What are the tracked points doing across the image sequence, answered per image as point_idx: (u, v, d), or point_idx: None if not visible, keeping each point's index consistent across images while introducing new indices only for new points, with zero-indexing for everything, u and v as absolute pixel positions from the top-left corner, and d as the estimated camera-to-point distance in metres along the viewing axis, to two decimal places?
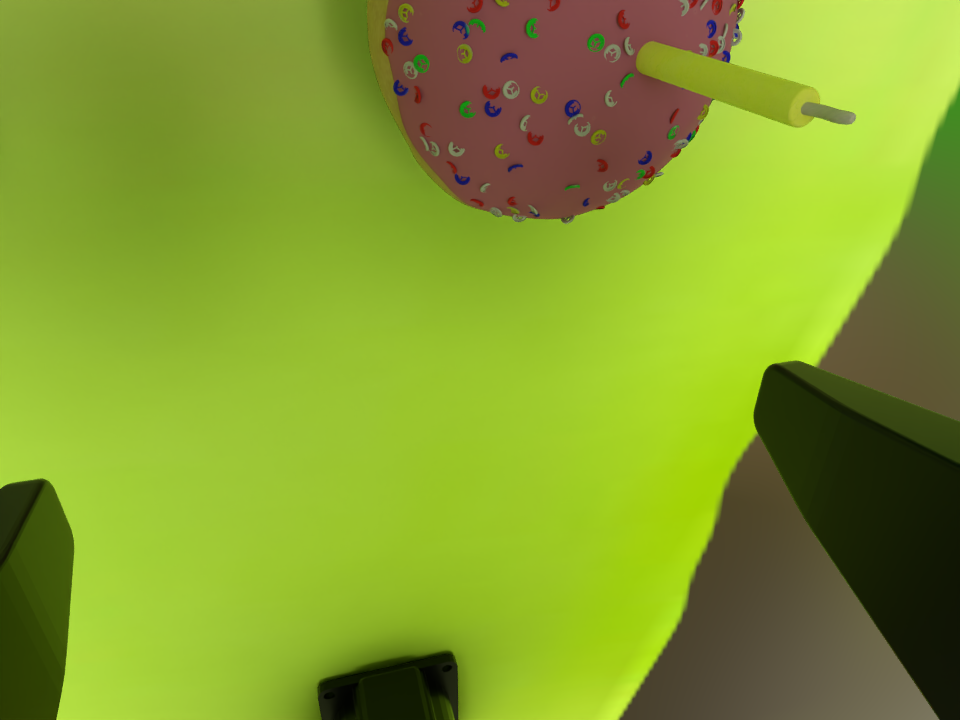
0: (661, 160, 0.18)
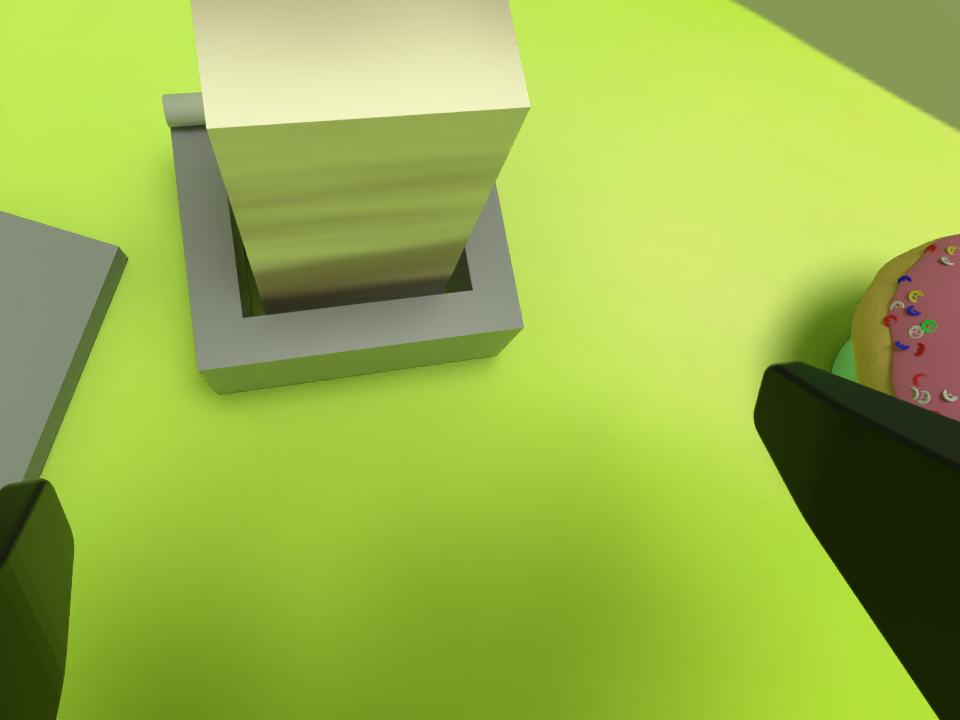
0: None
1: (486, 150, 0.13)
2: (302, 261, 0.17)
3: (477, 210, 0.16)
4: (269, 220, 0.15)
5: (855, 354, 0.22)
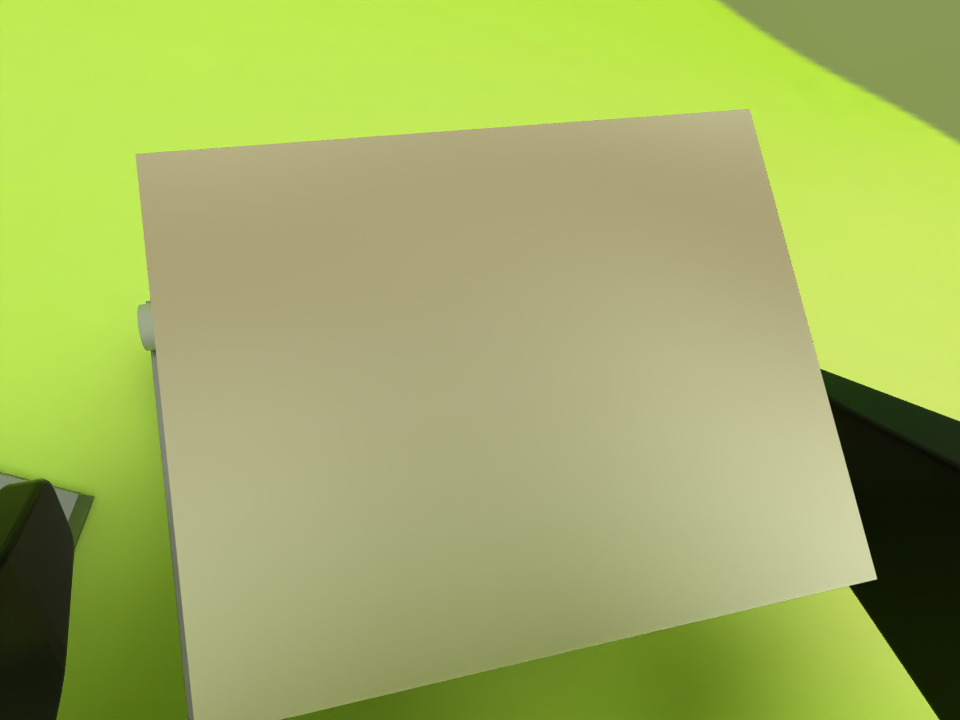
0: None
1: None
2: None
3: None
4: None
5: None
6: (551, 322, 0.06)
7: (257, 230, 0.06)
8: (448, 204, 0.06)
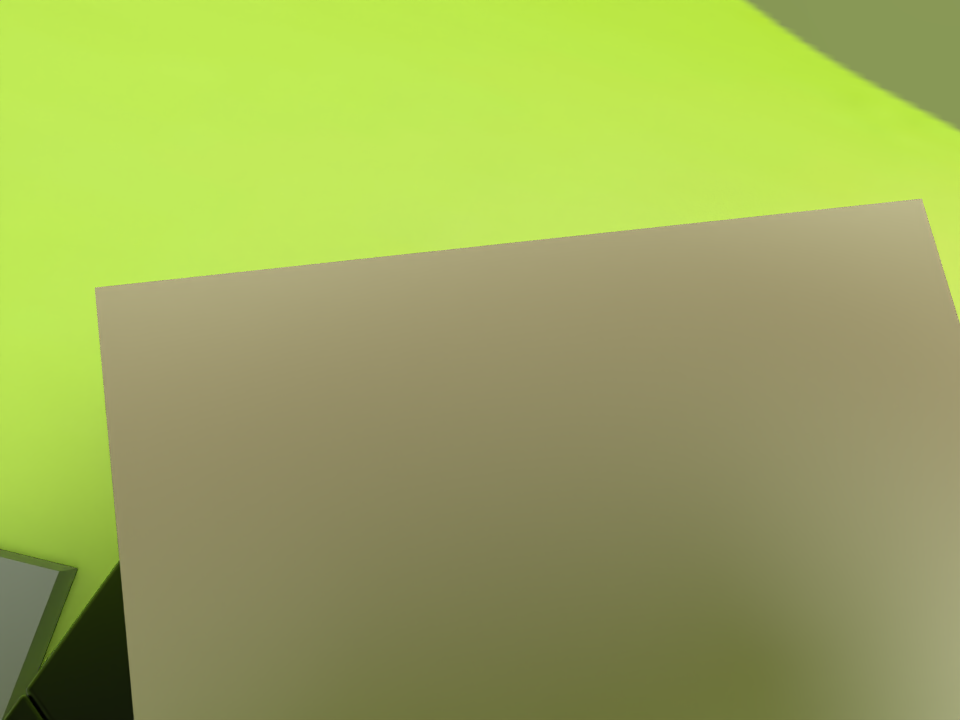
0: None
1: None
2: None
3: None
4: None
5: None
6: (678, 512, 0.04)
7: (268, 395, 0.04)
8: (533, 345, 0.04)
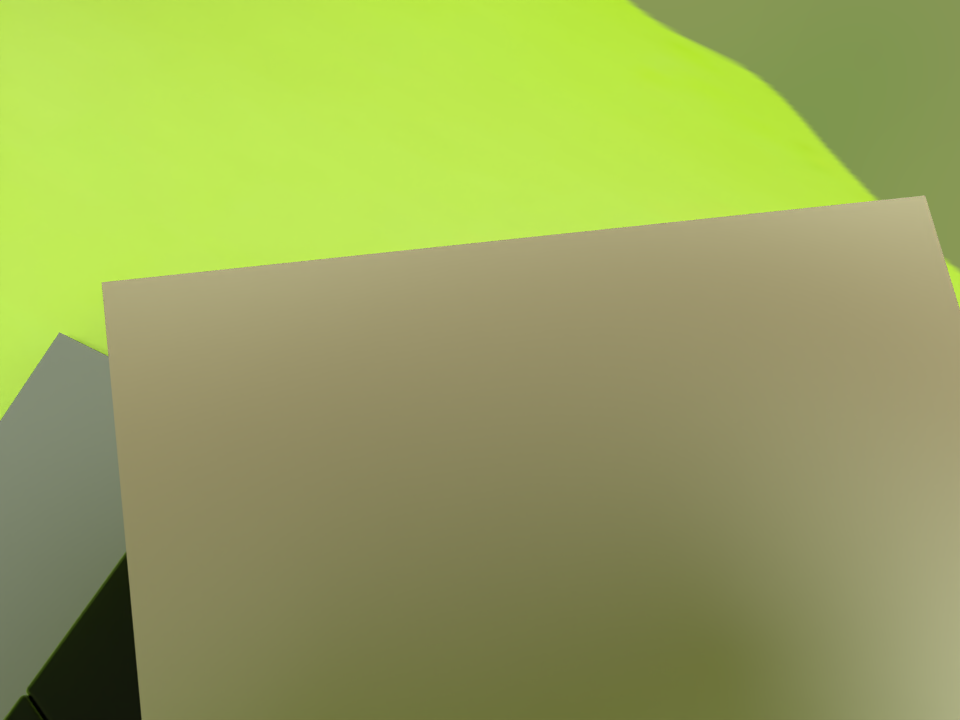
0: None
1: None
2: None
3: None
4: None
5: None
6: (683, 508, 0.04)
7: (275, 389, 0.04)
8: (539, 340, 0.04)
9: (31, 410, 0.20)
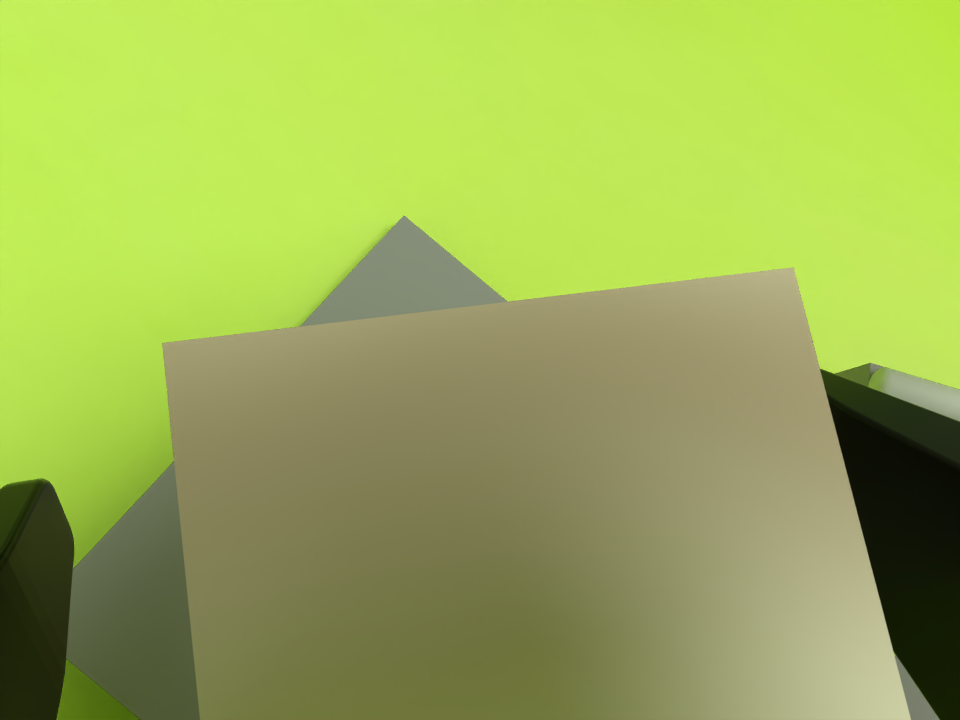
0: None
1: None
2: None
3: None
4: None
5: None
6: (591, 510, 0.06)
7: (288, 421, 0.05)
8: (486, 384, 0.06)
9: (363, 292, 0.18)
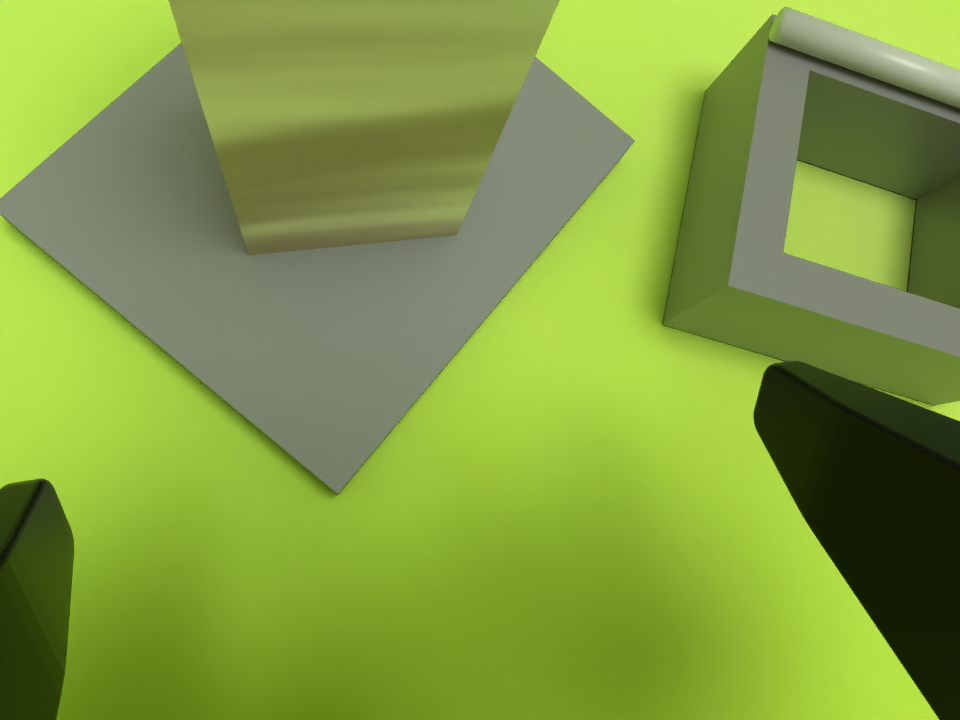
0: None
1: None
2: (283, 127, 0.12)
3: (535, 40, 0.11)
4: (228, 30, 0.10)
5: None
6: None
7: None
8: None
9: None
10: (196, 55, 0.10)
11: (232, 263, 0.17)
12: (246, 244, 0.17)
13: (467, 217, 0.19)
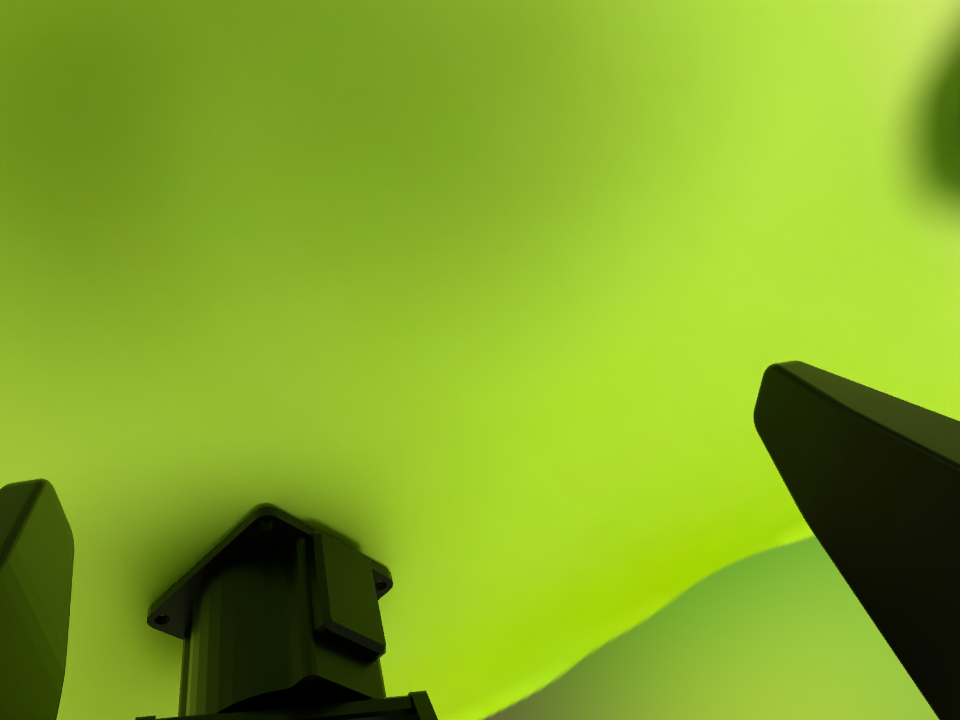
0: None
1: None
2: None
3: None
4: None
5: None
6: None
7: None
8: None
9: None
10: None
11: None
12: None
13: None
